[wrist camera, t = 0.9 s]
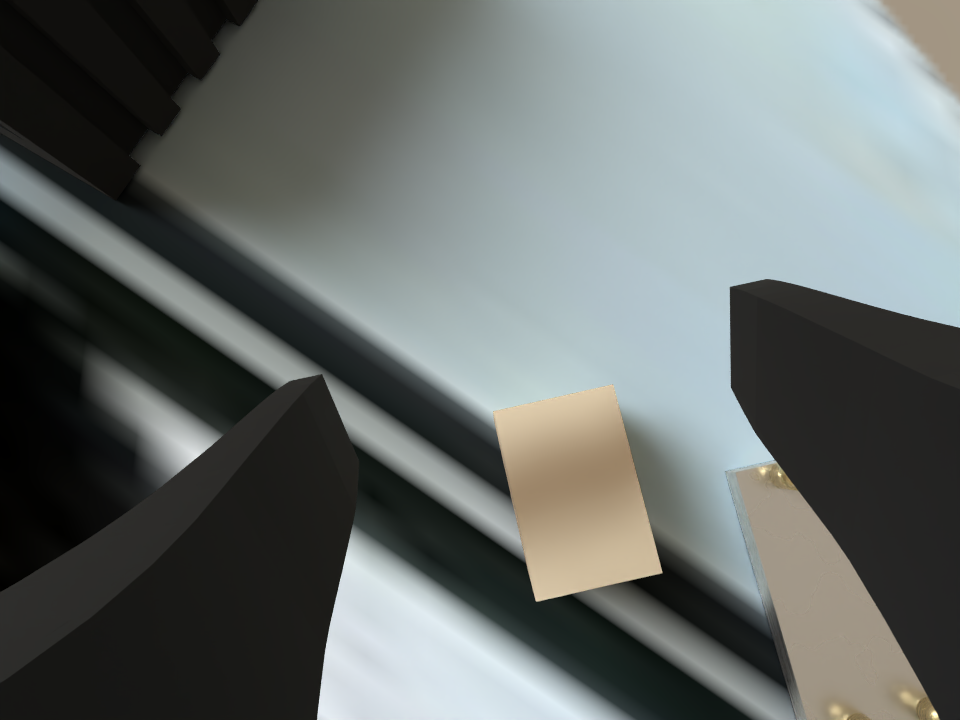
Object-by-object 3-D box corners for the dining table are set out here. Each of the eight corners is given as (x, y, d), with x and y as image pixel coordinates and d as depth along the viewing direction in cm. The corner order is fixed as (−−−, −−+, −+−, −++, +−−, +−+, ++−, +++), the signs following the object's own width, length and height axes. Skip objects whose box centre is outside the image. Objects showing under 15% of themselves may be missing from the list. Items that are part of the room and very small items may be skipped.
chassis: (959, 704, 22) (1019, 736, 19) (802, 740, 22) (841, 777, 19) (871, 438, 23) (916, 436, 21) (725, 471, 23) (752, 473, 21)
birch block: (626, 547, 23) (662, 572, 18) (527, 569, 23) (535, 601, 18) (589, 398, 24) (613, 384, 19) (494, 420, 24) (492, 411, 19)
